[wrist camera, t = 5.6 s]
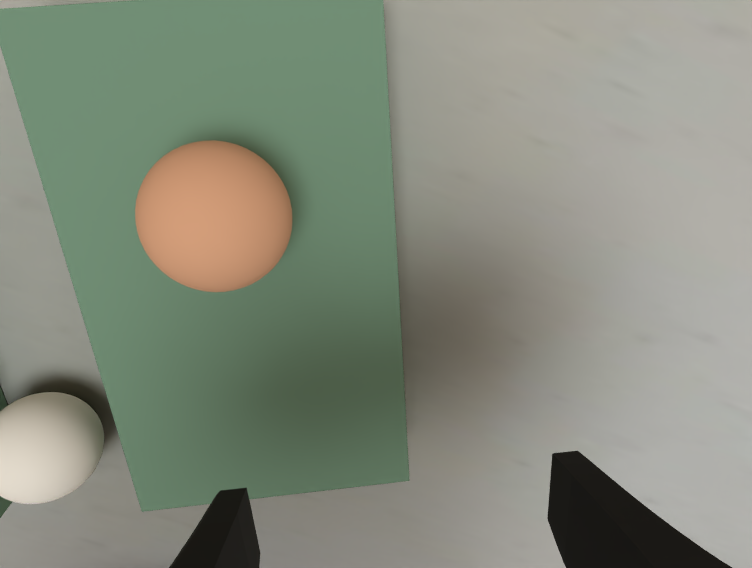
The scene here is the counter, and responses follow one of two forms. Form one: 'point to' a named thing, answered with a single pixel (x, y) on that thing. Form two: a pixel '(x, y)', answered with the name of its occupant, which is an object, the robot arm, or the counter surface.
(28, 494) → the ivory ball
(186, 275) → the terracotta ball
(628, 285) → the counter surface
